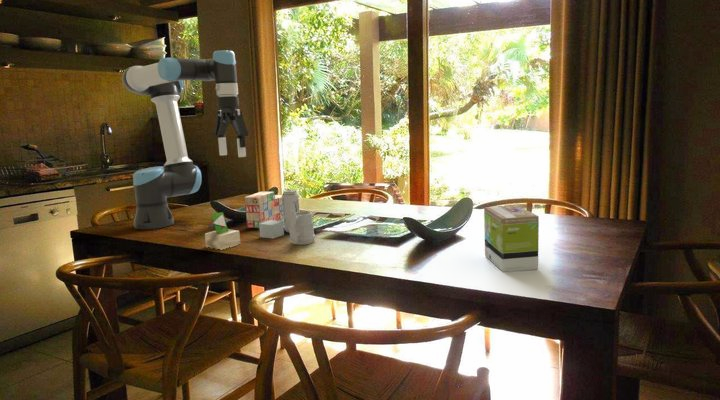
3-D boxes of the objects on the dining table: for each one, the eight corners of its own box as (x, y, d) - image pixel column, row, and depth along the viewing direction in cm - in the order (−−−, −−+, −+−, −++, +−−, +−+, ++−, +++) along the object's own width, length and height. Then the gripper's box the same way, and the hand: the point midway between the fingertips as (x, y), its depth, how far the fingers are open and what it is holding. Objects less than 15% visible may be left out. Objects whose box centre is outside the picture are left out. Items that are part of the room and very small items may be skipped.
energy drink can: (296, 233, 187) (293, 192, 184) (281, 232, 188) (278, 192, 186) (303, 229, 192) (300, 189, 189) (288, 228, 194) (286, 189, 191)
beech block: (206, 248, 173) (204, 233, 172) (225, 242, 179) (223, 228, 178) (221, 251, 168) (220, 236, 167) (240, 245, 175) (239, 230, 174)
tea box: (483, 256, 148) (483, 206, 146) (517, 254, 149) (517, 204, 147) (501, 273, 134) (502, 217, 131) (539, 270, 134) (540, 214, 132)
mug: (319, 239, 176) (317, 205, 174) (302, 248, 165) (299, 212, 163) (300, 238, 179) (297, 204, 177) (281, 247, 168) (279, 211, 166)
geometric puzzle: (203, 225, 174) (208, 208, 170) (222, 221, 179) (227, 205, 174) (212, 240, 171) (217, 223, 166) (231, 236, 176) (236, 219, 171)
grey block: (260, 237, 183) (259, 223, 182) (271, 233, 188) (269, 220, 187) (273, 238, 180) (272, 224, 179) (284, 234, 185) (283, 221, 184)
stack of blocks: (274, 216, 219) (272, 187, 217) (287, 216, 217) (285, 187, 214) (246, 228, 199) (244, 196, 197) (261, 228, 197) (258, 196, 195)
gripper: (201, 97, 189) (206, 155, 193) (235, 94, 171) (241, 158, 175) (220, 97, 194) (225, 153, 198) (255, 94, 176) (260, 156, 180)
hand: (232, 156), depth 187 cm, fingers open, 13 cm apart
